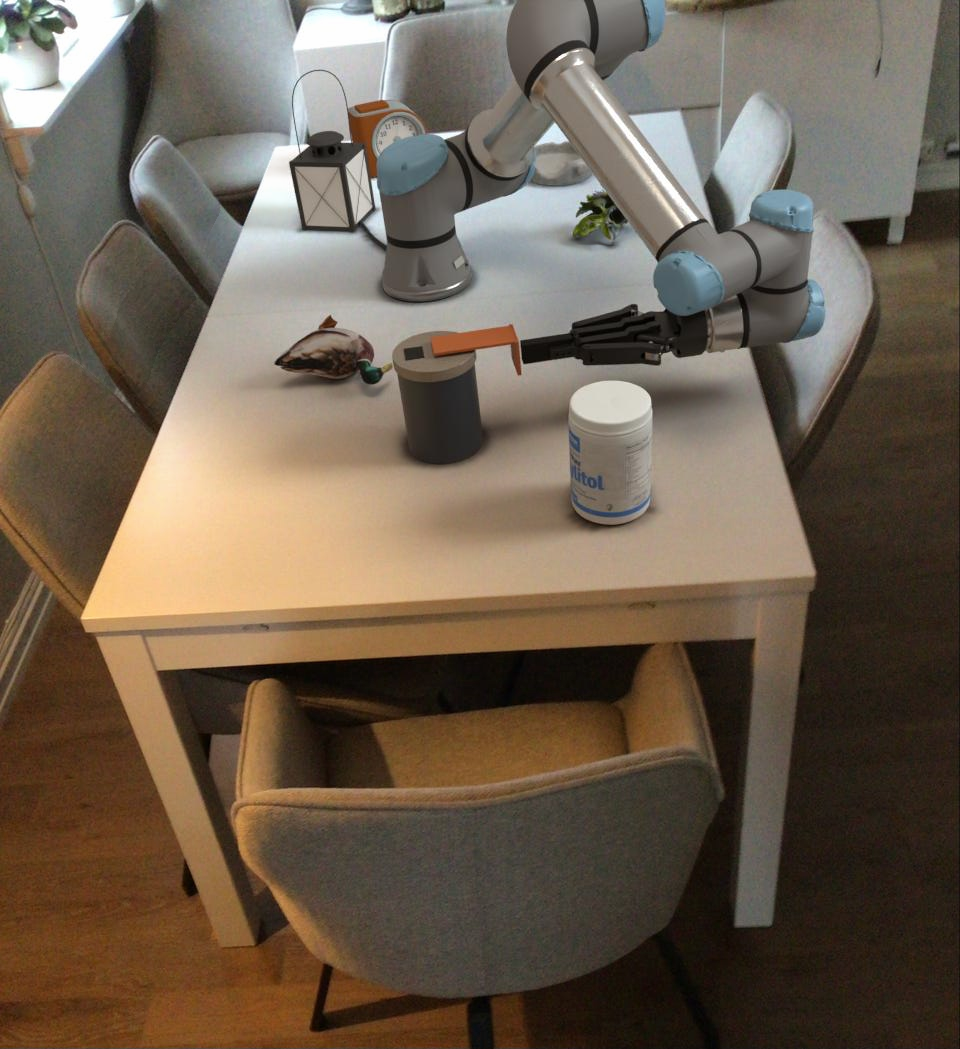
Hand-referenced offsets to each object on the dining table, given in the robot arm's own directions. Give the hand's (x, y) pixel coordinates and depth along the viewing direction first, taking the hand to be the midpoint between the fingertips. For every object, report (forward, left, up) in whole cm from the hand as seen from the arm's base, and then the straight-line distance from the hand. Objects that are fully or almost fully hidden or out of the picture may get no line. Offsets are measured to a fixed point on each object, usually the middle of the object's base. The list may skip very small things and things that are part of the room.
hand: (522, 352), depth 138 cm
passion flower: (-33, +54, -12) cm, 65 cm away
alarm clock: (-96, +55, -12) cm, 112 cm away
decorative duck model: (-31, -9, -12) cm, 35 cm away
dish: (-62, +71, -12) cm, 95 cm away
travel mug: (-6, -9, -12) cm, 16 cm away
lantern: (-82, +30, -12) cm, 88 cm away
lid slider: (-3, -5, -2) cm, 6 cm away
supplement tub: (+20, -5, -12) cm, 24 cm away
